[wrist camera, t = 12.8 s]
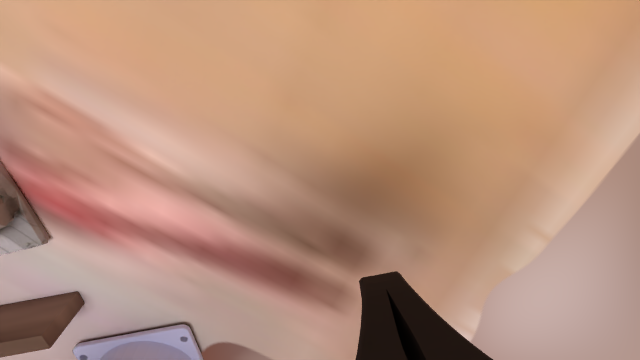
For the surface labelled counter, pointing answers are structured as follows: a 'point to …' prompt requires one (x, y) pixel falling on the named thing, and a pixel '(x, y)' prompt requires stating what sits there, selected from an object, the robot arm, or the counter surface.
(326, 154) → the counter surface
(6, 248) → the packaged product
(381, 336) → the robot arm
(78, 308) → the box
